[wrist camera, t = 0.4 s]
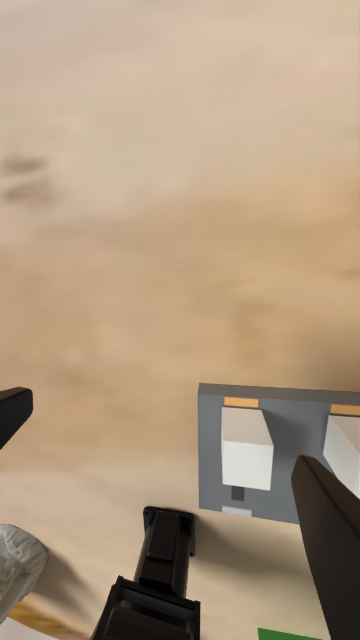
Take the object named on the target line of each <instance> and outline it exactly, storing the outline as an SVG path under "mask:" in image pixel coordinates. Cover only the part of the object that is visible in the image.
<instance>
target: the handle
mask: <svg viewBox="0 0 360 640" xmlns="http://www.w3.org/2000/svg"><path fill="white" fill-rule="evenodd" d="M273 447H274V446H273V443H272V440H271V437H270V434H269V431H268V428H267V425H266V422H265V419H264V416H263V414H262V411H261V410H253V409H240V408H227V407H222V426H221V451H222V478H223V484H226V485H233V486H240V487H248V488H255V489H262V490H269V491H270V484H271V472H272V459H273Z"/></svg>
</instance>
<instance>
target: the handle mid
mask: <svg viewBox="0 0 360 640" xmlns="http://www.w3.org/2000/svg"><path fill="white" fill-rule="evenodd" d="M323 455H324V457H325V458H326V460H327V462H328V463H329V465H330V467H331V468H332V470H333V472H334V473H335V475H336V477H337V478H338V479H339V480H340V481H341V482H342V483H343V484H344V485H345V486H346V487H347V488H348V489H349V490H350V491H351V492H352V493H354V494H355V495H356V496H357V497H358V498H359V499H360V418H357V417H344V416H331V415H329V417H328V424H327V431H326V438H325V445H324V451H323Z"/></svg>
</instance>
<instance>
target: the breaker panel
mask: <svg viewBox="0 0 360 640" xmlns="http://www.w3.org/2000/svg"><path fill="white" fill-rule="evenodd" d="M222 407H227V408H240V409H253V410H261V411H262V414H263V416H264V419H265V422H266V425H267V428H268V431H269V434H270V437H271V440H272V443H273V446H274V447H273V459H272V472H271V484H270V491H269V490H262V489H255V488H248V487H240V486H233V485H226V484H223V478H222V451H221V426H222ZM329 415H331V416H344V417H357V418H360V393H357V392H340V391H323V390H306V389H289V388H272V387H255V386H238V385H221V384H205V383H199V389H198V454H199V508H201V509H207V510H213V511H220V512H224V513H230V514H236V515H242V516H249V517H257V518H263V519H269V520H275V521H282V522H288V523H294V524H299V519H298V514H297V509H296V505H295V500H294V495H293V490H292V486H291V474H292V471H293V468H294V465H295V462H296V459H297V457H298V455H300V454H303V455H307V456H311V457H314V458H316V459H317V460H318V461H319V462H320V463H321V464H322V465H324V466H325V467H326V468H327V469H328V470H329V471H330V472H331V473H332V474H333V475H334V476H335V477H336V475H335V473H334V472H333V470H332V468H331V467H330V465H329V463H328V462H327V460H326V458H325V457H324V455H323V451H324V445H325V438H326V431H327V424H328V417H329ZM336 478H337V477H336ZM337 479H338V478H337Z"/></svg>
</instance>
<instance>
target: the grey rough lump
mask: <svg viewBox="0 0 360 640" xmlns="http://www.w3.org/2000/svg"><path fill="white" fill-rule="evenodd" d="M47 560H48V554H47V551H46V549H45V547H44V546H43V544H42V543H41V542H40V541H39V540H38V539H37V538H36V537H34V536H33V535H31V534H30V533H28V532H26V531H24V530H22V529H20V528H18V527H17V528H16V527H14V526H12V525H10V524H0V624H2V622H3V621H4V620H5V619H6V617H7V615H8V614H9V612H10V611H11V610H12V609H13V608H14V606H15V604H16V603H17V601H18V602H20V601H22V600H23V598H24V597H25V596H27V595H28V594H29V592H30V591H31V590H32V589H33V588H34V586H35V585H36V583H37V582H38V579H39V577H40V575H41V574H42V572H43V570H44V567H45V565H46V562H47Z"/></svg>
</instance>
